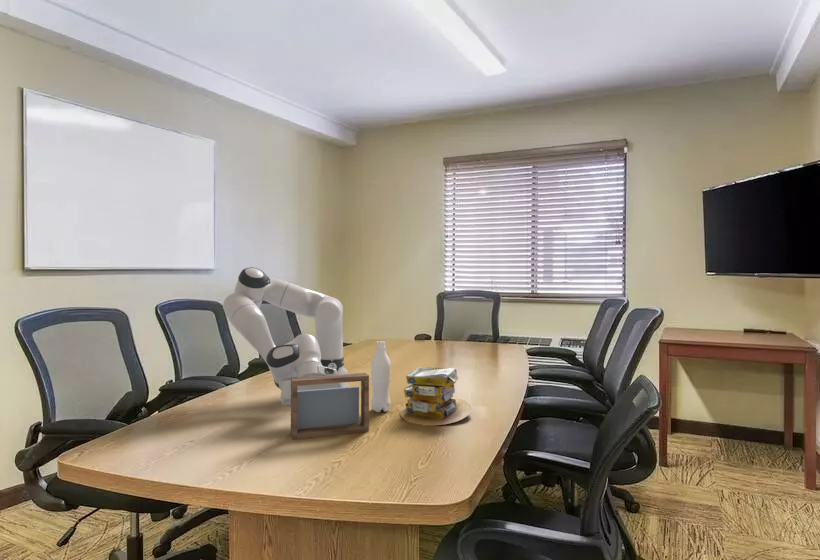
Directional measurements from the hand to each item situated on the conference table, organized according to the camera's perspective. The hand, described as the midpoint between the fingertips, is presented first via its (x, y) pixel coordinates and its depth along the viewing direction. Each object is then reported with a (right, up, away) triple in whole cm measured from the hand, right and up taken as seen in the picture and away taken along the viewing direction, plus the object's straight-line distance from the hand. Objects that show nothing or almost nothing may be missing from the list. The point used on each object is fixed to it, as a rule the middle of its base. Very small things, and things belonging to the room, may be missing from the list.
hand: (314, 413), depth 160 cm
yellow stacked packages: (+39, -5, +17) cm, 43 cm away
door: (+4, -4, 0) cm, 6 cm away
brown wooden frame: (+5, -5, -3) cm, 8 cm away
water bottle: (+20, -5, +22) cm, 30 cm away
